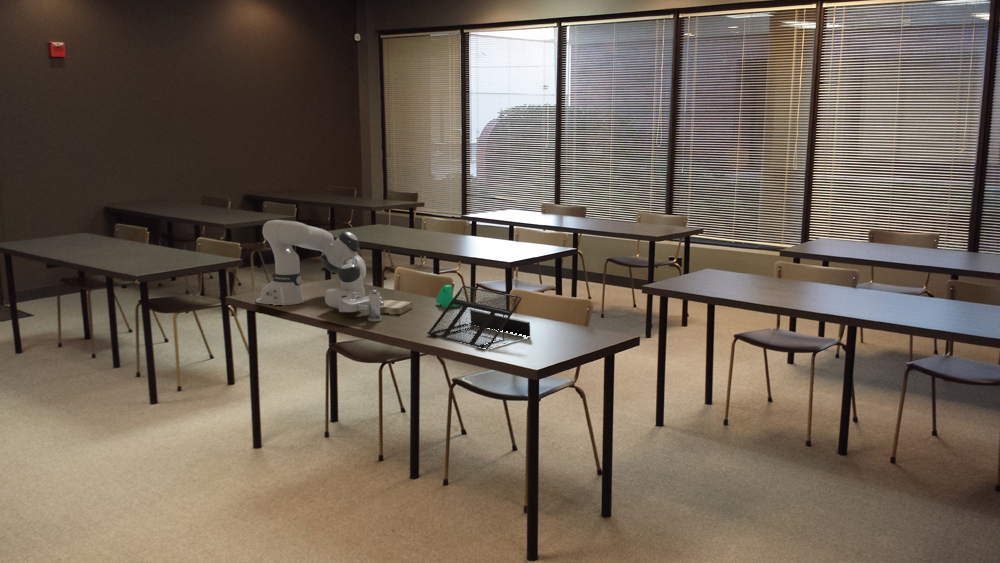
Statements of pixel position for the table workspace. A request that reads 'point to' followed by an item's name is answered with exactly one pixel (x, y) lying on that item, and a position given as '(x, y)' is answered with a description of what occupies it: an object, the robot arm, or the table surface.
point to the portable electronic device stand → (481, 318)
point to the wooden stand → (395, 307)
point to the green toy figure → (445, 296)
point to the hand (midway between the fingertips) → (375, 306)
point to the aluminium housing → (374, 306)
